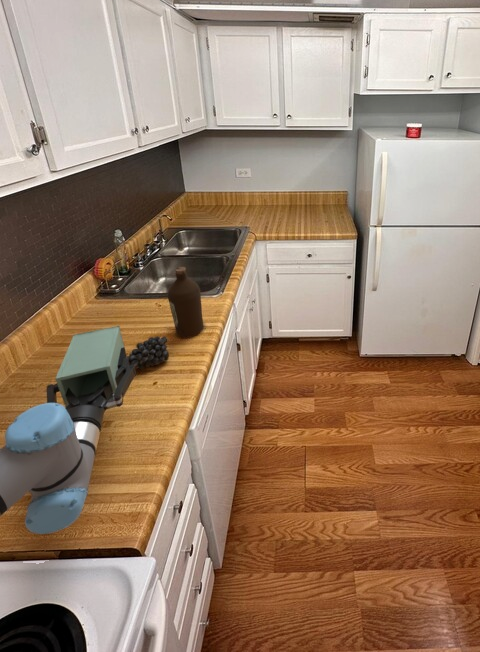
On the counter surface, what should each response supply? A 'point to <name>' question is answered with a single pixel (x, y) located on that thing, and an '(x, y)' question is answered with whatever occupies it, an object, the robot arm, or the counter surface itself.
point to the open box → (90, 362)
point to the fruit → (149, 353)
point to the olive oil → (185, 305)
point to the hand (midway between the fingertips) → (99, 357)
